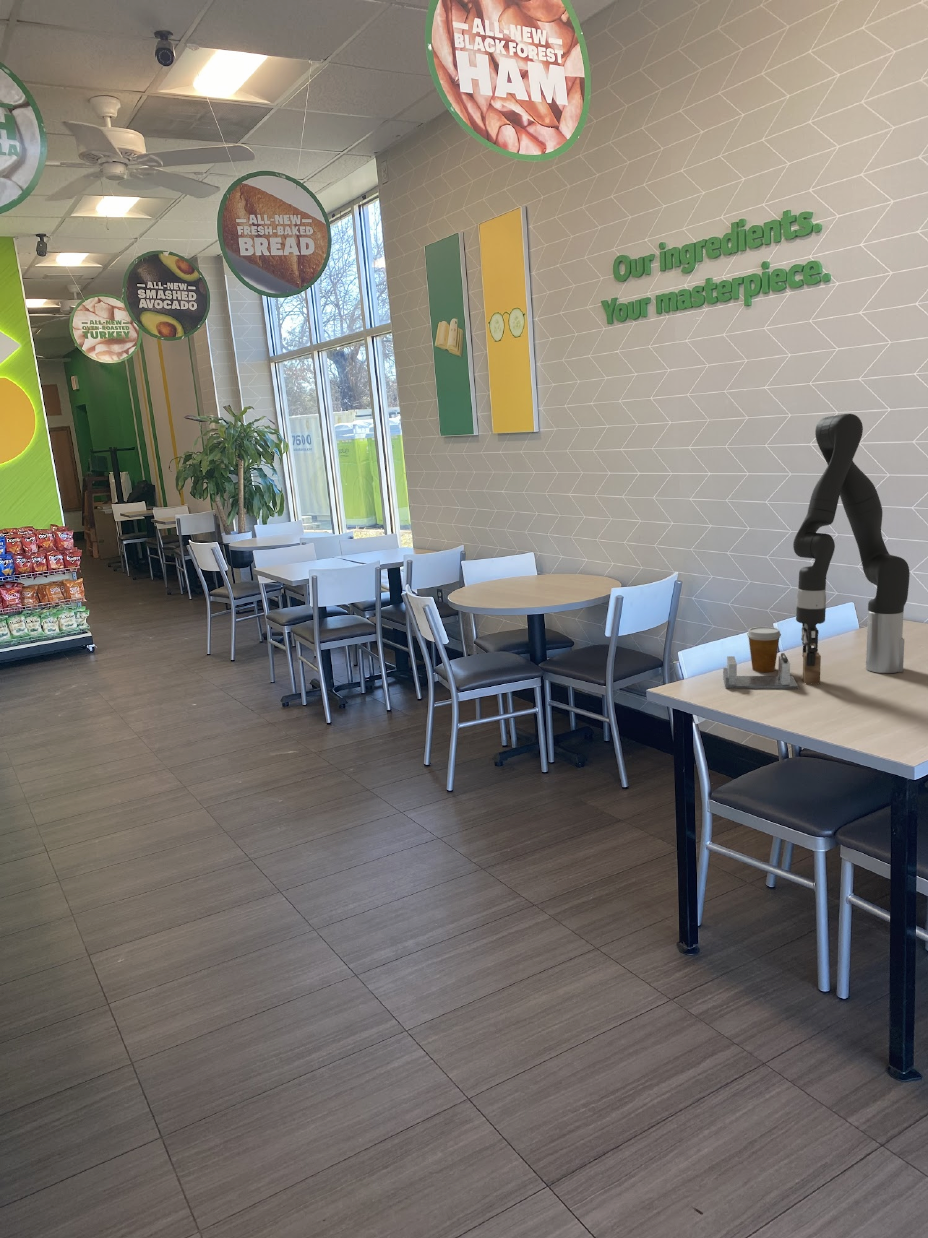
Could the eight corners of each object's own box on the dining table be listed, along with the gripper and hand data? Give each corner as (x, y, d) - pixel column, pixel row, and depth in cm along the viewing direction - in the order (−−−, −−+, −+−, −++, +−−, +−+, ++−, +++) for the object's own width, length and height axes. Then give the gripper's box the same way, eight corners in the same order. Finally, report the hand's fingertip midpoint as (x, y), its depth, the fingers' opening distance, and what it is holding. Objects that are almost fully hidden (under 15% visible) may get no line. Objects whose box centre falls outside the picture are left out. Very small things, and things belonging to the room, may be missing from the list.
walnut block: (817, 680, 253) (818, 652, 252) (820, 684, 250) (820, 656, 248) (802, 679, 254) (803, 652, 253) (804, 684, 250) (805, 656, 249)
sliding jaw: (785, 676, 255) (786, 651, 254) (789, 685, 247) (790, 659, 246) (778, 676, 256) (778, 651, 254) (782, 684, 248) (782, 659, 246)
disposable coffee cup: (776, 664, 271) (776, 625, 268) (784, 673, 262) (784, 633, 259) (743, 665, 272) (743, 626, 269) (750, 674, 263) (750, 634, 260)
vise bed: (792, 678, 256) (793, 655, 254) (797, 689, 246) (798, 665, 245) (723, 678, 260) (723, 655, 258) (725, 688, 250) (725, 665, 249)
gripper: (829, 610, 240) (826, 669, 244) (822, 600, 254) (819, 656, 257) (799, 610, 242) (797, 668, 245) (793, 599, 256) (791, 655, 259)
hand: (808, 662), depth 251 cm, fingers open, 8 cm apart
